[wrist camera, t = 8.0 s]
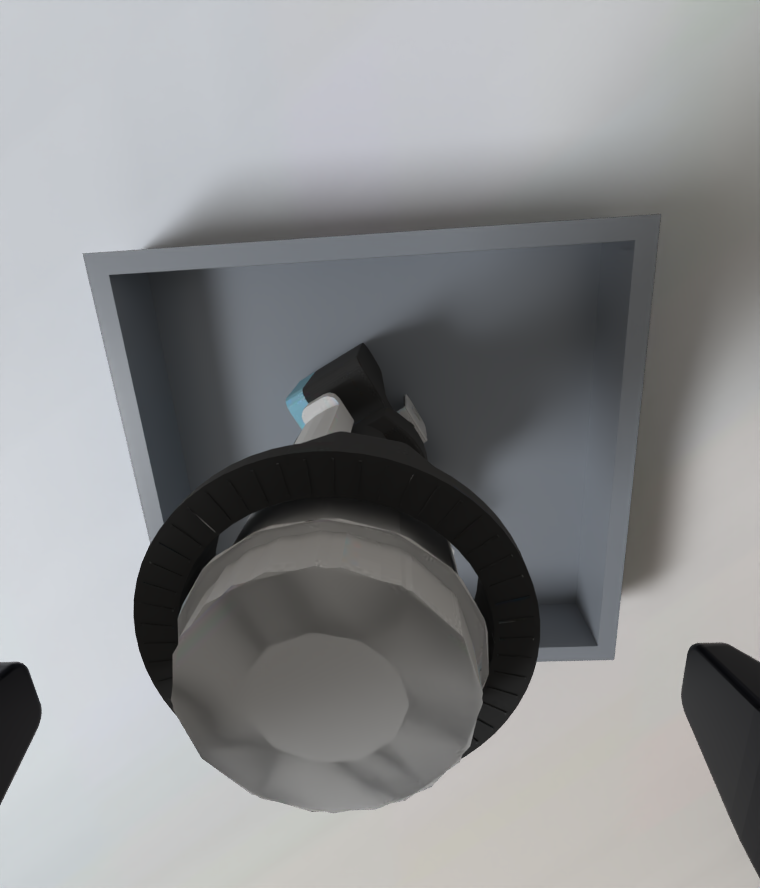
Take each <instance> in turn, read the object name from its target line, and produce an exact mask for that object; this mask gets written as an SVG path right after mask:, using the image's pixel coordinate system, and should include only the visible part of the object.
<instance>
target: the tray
mask: <svg viewBox="0 0 760 888" xmlns="http://www.w3.org/2000/svg"><path fill="white" fill-rule="evenodd" d="M660 219H661V214H654V215H639V216H625V217H610V218H596V219H581V220H566V221H552V222H537V223H522V224H508V225H493V226H478V227H464V228H449V229H435V230H420V231H405V232H391V233H376V234H361V235H347V236H332V237H317V238H303V239H288V240H274V241H259V242H244V243H230V244H215V245H200V246H186V247H171V248H156V249H142V250H127V251H113V252H98V253H83V257H84V261H85V266H86V270H87V274H88V279H89V283H90V287H91V291H92V296H93V300H94V304H95V309H96V313H97V317H98V321H99V326H100V330H101V334H102V339H103V343H104V347H105V351H106V356H107V360H108V364H109V369H110V373H111V377H112V381H113V386H114V390H115V394H116V399H117V403H118V407H119V411H120V416H121V420H122V424H123V429H124V433H125V437H126V441H127V446H128V450H129V454H130V459H131V463H132V467H133V471H134V476H135V480H136V484H137V489H138V493H139V497H140V501H141V506H142V510H143V514H144V519H145V523H146V527H147V531H148V536H149V540H150V544H151V542H152V541H153V539H154V537H155V536H156V534H157V532H158V531H159V529H160V528H161V527H162V525H163V524H164V523H165V522H166V520H167V519H168V518H169V517H170V515H171V514H172V513H173V512H174V511H175V510H176V508H177V507H178V506H179V505H180V504H181V503H182V502H183V501H184V500H185V499H186V498H187V497H188V496H189V495H190V494H191V493H192V492H193V491H194V490H195V489H196V488H197V487H198V486H200V485H201V484H202V483H204V482H205V481H206V480H208V479H209V478H210V477H212V476H213V475H214V474H216V473H218V472H220V471H221V470H223V469H225V468H226V467H228V466H230V465H231V464H234V463H236V462H238V461H240V460H243V459H245V458H247V457H249V456H252V455H255V454H258V453H261V452H264V451H267V450H270V449H274V448H279V447H283V446H288V445H293V444H294V442H295V441H296V439H297V437H298V436H299V435H300V433H301V431H302V429H301V428H300V426H299V425H298V423H297V422H296V420H295V419H294V417H293V416H292V414H291V413H290V411H289V409H288V408H287V405H286V398H287V397H288V395H289V394H290V393H291V392H292V391H293V389H294V388H295V387H296V386H297V384H298V383H299V381H301V380H302V379H304V378H306V377H307V376H309V375H311V374H312V373H314V372H315V371H317V370H319V369H320V368H322V367H324V366H325V365H327V364H328V363H330V362H332V361H333V360H335V359H337V358H338V357H340V356H341V355H343V354H345V353H346V352H348V351H350V350H351V349H353V348H354V347H356V346H358V345H359V344H361V343H364V344H365V345H366V346H367V348H368V349H369V351H370V352H371V354H372V355H373V357H374V359H375V360H376V362H377V364H378V365H379V367H380V369H381V372H382V377H383V383H384V388H385V394H386V397H387V399H388V401H389V403H390V405H391V407H392V408H393V410H394V411H398V410H400V409H402V408H403V407H404V395H405V394H406V395H407V396H408V397H409V398H410V400H411V402H412V403H413V405H414V407H415V408H416V410H417V412H418V413H419V415H420V417H421V418H422V420H423V422H424V424H425V427H426V434H427V437H426V438H427V441H426V442H425V443H424V446H425V450H426V453H427V459H428V462H429V463H431V464H432V465H433V466H434V467H436V468H438V469H439V470H441V471H443V472H445V473H447V474H448V475H450V476H452V477H453V478H455V479H456V480H457V481H459V482H460V483H462V484H463V485H465V486H466V487H467V488H469V489H470V490H471V491H472V492H473V493H475V494H476V495H477V496H478V497H479V498H480V499H481V500H482V501H484V502H485V503H486V504H487V505H488V507H489V508H490V509H491V510H492V511H493V512H494V513H495V514H496V515H497V516H498V518H499V519H500V520H501V522H502V523H503V524H504V526H505V527H506V529H507V530H508V531H509V533H510V534H511V536H512V538H513V540H514V541H515V543H516V545H517V547H518V549H519V551H520V553H521V555H522V557H523V560H524V562H525V565H526V567H527V570H528V572H529V575H530V577H531V580H532V582H533V585H534V589H535V593H536V597H537V601H538V606H539V614H540V644H539V651H538V658H537V661H536V662H541V661H583V660H614V657H615V647H616V638H617V628H618V619H619V609H620V600H621V590H622V581H623V571H624V562H625V552H626V543H627V533H628V524H629V514H630V505H631V495H632V485H633V476H634V466H635V457H636V447H637V438H638V428H639V419H640V409H641V400H642V390H643V381H644V371H645V362H646V352H647V343H648V333H649V324H650V314H651V305H652V295H653V286H654V276H655V267H656V257H657V248H658V238H659V228H660ZM250 515H251V514H250ZM250 515H248V516H246V517H244V518H243V519H241V520H239V521H238V522H236V523H234V524H232V525H231V526H230V527H228V528H227V529H226V530H225V531H223V532H222V533H221V534H219V539H218V543H217V548H216V556H217V555H218V554H220V553H222V552H223V551H225V550H226V549H228V548H230V547H231V546H233V544H234V542H235V541H236V539H237V537H238V535H239V534H240V532H241V530H242V529H243V527H244V525H245V523H246V522H247V520H248V518H249V517H250ZM451 546H452V548H453V549H454V551H455V552H454V558H455V562H456V566H457V571H458V576H459V577H460V578H461V579H462V580H463V582H464V584H465V586H466V587H467V589H468V591H469V593H470V594H471V596H472V598H473V600H474V598H475V595H476V591H477V583H478V576H477V574H476V573H475V571H474V570H473V568H472V567H471V565H470V563H469V562H468V561H467V560H466V559H465V558H464V557H463V555H462V554H461V553H460V552H459V551H458V550H457V549H456V548H455V547H454V546H453V545H452V544H451Z"/></svg>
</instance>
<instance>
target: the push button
mask: <svg viewBox="0 0 760 888" xmlns="http://www.w3.org/2000/svg"><path fill="white" fill-rule="evenodd" d="M286 405H287V408H288V409H289V411H290V413H291V414H292V416H293V417H294V419H295V420H296V422H297V423H298V425H299V426H300V428H301V429H302V431H301V433H300V435H299V436H298V437H297V439H296V441H295V442H294V444H293V445H288V446H283V447H279V448H274V449H270V450H267V451H264V452H261V453H258V454H255V455H252V456H249V457H247V458H245V459H243V460H240V461H238V462H236V463H234V464H231V465H230V466H228V467H226V468H225V469H223V470H221V471H220V472H218V473H216V474H214V475H213V476H212V477H210V478H209V479H208V480H206V481H205V482H204V483H202V484H201V485H200V486H198V487H197V488H196V489H195V490H194V491H193V492H192V493H191V494H190V495H189V496H188V497H187V498H186V499H185V500H184V501H183V502H182V503H181V504H180V505H179V506H178V507H177V508H176V510H175V511H174V512H173V513H172V514H171V515H170V517H169V518H168V519H167V520H166V522H165V523H164V524H163V525H162V527H161V528H160V529H159V531H158V532H157V534H156V536H155V537H154V539H153V541H152V542H151V544H150V546H149V548H148V550H147V552H146V555H145V557H144V559H143V561H142V564H141V568H140V571H139V574H138V578H137V582H136V589H135V595H134V624H135V634H136V638H137V642H138V647H139V651H140V654H141V657H142V659H143V662H144V665H145V668H146V670H147V672H148V674H149V676H150V678H151V680H152V682H153V684H154V685H155V687H156V689H157V690H158V692H159V693H160V695H161V696H162V698H163V700H164V701H165V702H166V703H167V705H168V706H169V707H170V708H171V710H172V711H173V712H174V713H175V714H176V716H177V717H178V719H179V720H180V722H181V724H182V726H183V727H184V729H185V731H186V732H187V734H188V736H189V737H190V739H191V741H192V742H193V744H194V746H195V748H196V749H197V751H198V753H199V754H200V756H201V758H202V759H203V760H205V761H206V762H208V763H209V764H210V765H212V766H213V767H214V768H216V769H217V770H219V771H220V772H221V773H223V774H224V775H226V776H227V777H228V778H230V779H231V780H233V781H234V782H235V783H237V784H238V785H239V786H241V787H242V788H244V789H245V790H246V791H248V792H249V793H251V794H253V795H256V796H258V797H260V798H262V799H267V800H271V801H276V802H280V803H284V804H287V805H291V806H294V807H298V808H301V809H305V810H308V811H311V812H319V811H325V812H330V813H338V812H343V811H349V810H373V809H378V808H380V807H383V806H385V805H388V804H390V803H394V802H400V801H405V800H406V799H408V798H409V797H411V796H412V795H413V794H415V793H417V792H420V791H422V790H425V789H427V788H430V787H432V786H433V785H434V783H435V782H436V781H437V780H438V779H439V778H440V777H441V776H442V775H443V774H444V773H445V772H446V771H447V770H449V769H450V768H451V767H453V766H454V765H456V764H457V763H458V762H460V759H461V758H463V757H465V756H467V755H468V754H469V753H471V752H472V751H474V750H475V749H476V748H478V747H479V746H481V745H482V744H483V743H484V742H485V741H487V740H488V739H489V738H490V737H491V736H492V735H493V734H495V733H496V731H497V730H498V729H499V728H500V727H501V726H502V725H503V724H504V723H505V722H506V721H507V719H508V718H509V717H510V715H511V714H512V713H513V711H514V710H515V709H516V707H517V706H518V704H519V702H520V701H521V699H522V697H523V695H524V694H525V692H526V690H527V687H528V685H529V683H530V680H531V678H532V675H533V672H534V669H535V665H536V661H537V658H538V651H539V644H540V614H539V606H538V601H537V597H536V593H535V589H534V585H533V582H532V580H531V577H530V575H529V572H528V570H527V567H526V565H525V562H524V560H523V557H522V555H521V553H520V551H519V549H518V547H517V545H516V543H515V541H514V540H513V538H512V536H511V534H510V533H509V531H508V530H507V529H506V527H505V526H504V524H503V523H502V522H501V520H500V519H499V518H498V516H497V515H496V514H495V513H494V512H493V511H492V510H491V509H490V508H489V507H488V505H487V504H486V503H485V502H484V501H482V500H481V499H480V498H479V497H478V496H477V495H476V494H475V493H473V492H472V491H471V490H470V489H469V488H467V487H466V486H465V485H463V484H462V483H460V482H459V481H457V480H456V479H455V478H453V477H452V476H450V475H448V474H447V473H445V472H443V471H441V470H439V469H438V468H436V467H434V466H433V465H432V464H431V463H429V462H428V459H427V453H426V450H425V446H424V443H425V442H426V441H427V438H426V437H427V434H426V427H425V424H424V422H423V420H422V418H421V417H420V415H419V413H418V412H417V410H416V408H415V407H414V405H413V403H412V402H411V400H410V398H409V397H408V396H407V395H406V394H405V395H404V407H403V408H402V409H400V410H398V411H394V410H393V408H392V407H391V405H390V403H389V401H388V399H387V397H386V394H385V388H384V383H383V377H382V372H381V369H380V367H379V365H378V364H377V362H376V360H375V359H374V357H373V355H372V354H371V352H370V351H369V349H368V348H367V346H366V345H365V344H364V343H361V344H359V345H358V346H356V347H354V348H353V349H351V350H350V351H348V352H346V353H345V354H343V355H341V356H340V357H338V358H337V359H335V360H333V361H332V362H330V363H328V364H327V365H325V366H324V367H322V368H320V369H319V370H317V371H315V372H314V373H312V374H311V375H309V376H307V377H306V378H304V379H302V380H301V381H299V383H298V384H297V386H296V387H295V388H294V389H293V391H292V392H291V393H290V394H289V395H288V397H287V398H286ZM250 514H251V515H250ZM248 515H250V517H249V518H248V520H247V522H246V523H245V525H244V527H243V529H242V530H241V532H240V534H239V535H238V537H237V539H236V541H235V542H234V544H233V546H231V547H230V548H228V549H226V550H225V551H223V552H222V553H220V554H218V555H217V556H216V548H217V543H218V539H219V534H221V533H222V532H223V531H225V530H226V529H227V528H228V527H230V526H231V525H232V524H234V523H236V522H238V521H239V520H241V519H243V518H244V517H246V516H248ZM451 544H452V545H453V546H454V547H455V548H456V549H457V550H458V551H459V552H460V553H461V554H462V555H463V557H464V558H465V559H466V560H467V561H468V562H469V563H470V565H471V567H472V568H473V570H474V571H475V573H476V574H477V576H478V583H477V591H476V595H475V598H474V600H473V598H472V596H471V594H470V593H469V591H468V589H467V587H466V586H465V584H464V582H463V580H462V579H461V578H460V577H459V576H458V571H457V566H456V562H455V558H454V552H455V551H454V549H453V548H452V546H451Z"/></svg>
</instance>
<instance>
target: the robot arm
mask: <svg viewBox="0 0 760 888" xmlns="http://www.w3.org/2000/svg"><path fill="white" fill-rule="evenodd" d="M681 698H682V705H683V708H684V712H685V714H686V717H687V719H688V721H689V724H690V726H691V728H692V731H693V733H694V735H695V738H696V740H697V742H698V745H699V747H700V749H701V752H702V754H703V756H704V759H705V761H706V763H707V766H708V768H709V770H710V773H711V775H712V777H713V780H714V782H715V784H716V787H717V789H718V791H719V794H720V796H721V798H722V801H723V803H724V805H725V808H726V810H727V812H728V815H729V817H730V819H731V822H732V824H733V826H734V828H735V830H736V833H737V835H738V837H739V839H740V841H741V843H742V845H743V847H744V849H745V851H746V853H747V855H748V857H749V859H750V861H751V863H752V865H753V867H754V868H755V870H756V872H757V874H758V876H759V878H760V662H759V661H757V660H755V659H754V658H752V657H750V656H748V655H747V654H745V653H743V652H741V651H740V650H738V649H736V648H734V647H733V646H731V645H729V644H726V643H696V644H694V645H692V646H691V647H690V648H689V650H688V654H687V660H686V666H685V672H684V678H683V684H682V691H681ZM41 714H42V710H41V704H40V701H39V698H38V695H37V693H36V690H35V687H34V684H33V681H32V678H31V676H30V673H29V670H28V668H27V667H26V666H25V665H24V664H23V663H20V662H0V805H1V802H2V800H3V798H4V796H5V794H6V792H7V790H8V788H9V786H10V784H11V782H12V780H13V778H14V776H15V774H16V772H17V770H18V768H19V766H20V763H21V761H22V759H23V757H24V755H25V753H26V751H27V749H28V747H29V745H30V743H31V741H32V739H33V737H34V735H35V733H36V731H37V729H38V726H39V723H40V720H41Z"/></svg>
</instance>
